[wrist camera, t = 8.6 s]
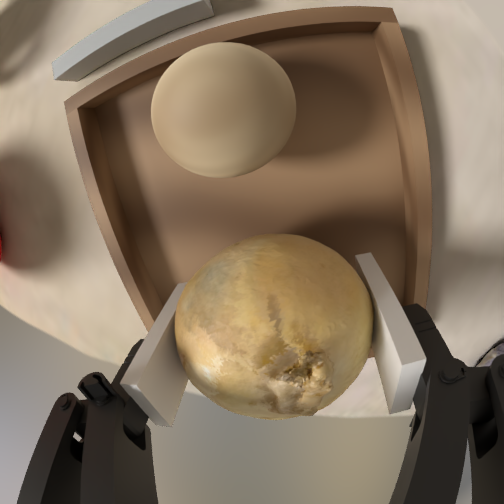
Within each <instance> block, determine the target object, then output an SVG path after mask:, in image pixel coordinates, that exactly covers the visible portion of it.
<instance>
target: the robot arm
mask: <svg viewBox="0 0 504 504" xmlns="http://www.w3.org/2000/svg"><path fill="white" fill-rule="evenodd" d="M355 261H356V272H357V274H358V275H359V277H360V278H361V280H362V281H363V283H364V285H365V286H366V289H367V291H368V293H369V294H370V297H371V300H372V303H373V309H374V322H373V335H372V342H371V346H372V350H373V353H374V356H375V360H376V363H377V367H378V370H379V374H380V378H381V382H382V385H383V389H384V393H385V397H386V401H387V405H388V410H389V414H393V413H397V412H401V411H404V410H408V409H410V407H411V405H412V402H414V405H415V409H416V412H415V415H414V417H413V419H412V422H411V424H410V427H412V428H411V432H410V437H409V441H408V445H407V449H406V453H405V457H404V461H403V464H402V467H401V470H400V474H399V477H398V480H397V483H396V486H395V489H394V492H393V494H392V497H391V500H390V503H389V504H455V503H456V499H457V495H458V491H459V487H460V482H461V477H462V472H463V467H464V461H465V453H466V447H467V438H468V443H469V451H470V462H471V477H472V504H504V354H501V355H499V356H497V357H496V358H495V359H494V360H493V361H492V363H491V365H490V366H483V367H467V366H466V365H465V363H464V362H462V361H461V360H459V359H456V358H453V356H452V355H451V353H450V351H449V349H448V347H447V345H446V343H445V342H444V340H443V338H442V336H441V334H440V333H439V331H438V329H436V326H435V324H434V322H433V321H432V319H431V317H430V315H429V314H428V312H427V310H426V309H424V308H423V307H421V306H420V305H419V304H417V303H415V304H411V305H407V306H403V307H401V305H400V303H399V301H398V299H397V297H396V296H395V294H394V292H393V290H392V288H391V286H390V285H389V283H388V281H387V279H386V278H385V276H384V274H383V272H382V271H381V269H380V267H379V266H378V264H377V262H376V260H375V259H374V257H373V255H372V254H371V252H370V253H365V254H359V255H355ZM186 284H187V282H186V283H179V284H177V286H176V288H175V289H174V291H173V292H172V294H171V296H170V297H169V299H168V301H167V302H166V304H165V306H164V307H163V309H162V311H161V312H160V314H159V316H158V317H157V319H156V321H155V322H154V324H153V326H152V327H151V329H150V331H149V332H148V334H147V336H146V338H145V339H140V340H139V341H138V342H137V343H136V344H135V345H134V346H133V347H132V349H131V351H130V352H129V354H128V357H126V359H125V361H124V364H122V366H121V368H120V369H119V371H118V373H117V375H116V376H115V378H114V380H113V382H112V383H111V384H110V383H109V381H108V380H107V379H106V378H105V376H104V375H103V374H102V373H99V372H93V373H90V374H88V375H87V376H85V377H84V378H83V379H82V380H81V381H80V383H79V385H78V389H79V390H80V391H81V392H82V393H83V394H84V396H85V397H86V398H87V399H86V400H79V399H78V398H77V397H76V396H75V395H74V394H73V393H65V394H63V395H61V396H60V397H59V398H58V399H57V401H56V402H55V404H54V406H53V408H52V410H51V413H50V415H49V417H48V419H47V421H46V424H45V426H44V429H43V431H42V433H41V435H40V438H39V440H38V443H37V445H36V448H35V450H34V453H33V455H32V458H31V461H30V464H29V466H28V469H27V472H26V475H25V478H24V481H23V484H22V487H21V490H20V494H19V497H18V501H17V504H158V498H157V492H156V485H155V476H154V467H153V457H152V445H151V432H150V428H149V427H148V426H147V425H146V423H147V421H148V418H150V419H151V421H152V422H153V423H154V424H155V425H159V426H166V427H172V425H173V422H174V419H175V416H176V413H177V410H178V407H179V405H180V402H181V399H182V396H183V393H184V390H185V388H186V385H187V382H188V379H189V378H188V377H187V374H186V372H185V370H184V368H183V366H182V363H181V361H180V357H179V355H178V351H177V347H176V340H175V315H176V308H177V303H178V300H179V298H180V296H181V294H182V292H183V290H184V288H185V285H186ZM74 432H76V433H77V434H78V435H79V436H80V437H81V438H82V439H81V440H80V441H79V442H78V441H77V440H76V439H75V438H73V435H74Z"/></svg>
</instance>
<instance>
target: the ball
mask: <svg viewBox="0 0 504 504" xmlns="http://www.w3.org/2000/svg"><path fill="white" fill-rule="evenodd" d="M295 119H296V99H295V93H294V90H293V87H292V84H291V82H290V80H289V78H288V76H287V74H286V73H285V71H284V70H283V69H282V67H281V66H280V65H279V64H278V63H277V62H276V61H275V60H274V59H272V58H271V57H270V56H268V55H267V54H265V53H264V52H262V51H260V50H258V49H256V48H254V47H251V46H248V45H245V44H241V43H233V42H218V43H211V44H207V45H203V46H200V47H197V48H195V49H192V50H190V51H189V52H187V53H185V54H183V55H182V56H181V57H179V58H178V59H177V60H176V61H174V62H173V63H172V64H171V65H170V66H169V67H168V69H167V70H166V71H165V72H164V74H163V75H162V77H161V78H160V80H159V82H158V84H157V86H156V88H155V91H154V94H153V99H152V104H151V120H152V125H153V130H154V133H155V136H156V138H157V140H158V142H159V144H160V145H161V147H162V148H163V150H164V151H165V152H166V154H167V155H168V156H169V157H170V158H171V159H172V160H173V161H175V162H176V163H177V164H179V165H180V166H182V167H183V168H185V169H186V170H188V171H191V172H193V173H195V174H198V175H201V176H206V177H213V178H232V177H238V176H242V175H245V174H248V173H251V172H253V171H255V170H257V169H259V168H261V167H262V166H264V165H266V164H267V163H268V162H270V161H271V160H272V159H273V158H274V157H275V156H276V155H277V154H278V153H279V152H280V151H281V150H282V148H283V147H284V146H285V144H286V143H287V141H288V139H289V137H290V135H291V133H292V130H293V127H294V123H295Z"/></svg>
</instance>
